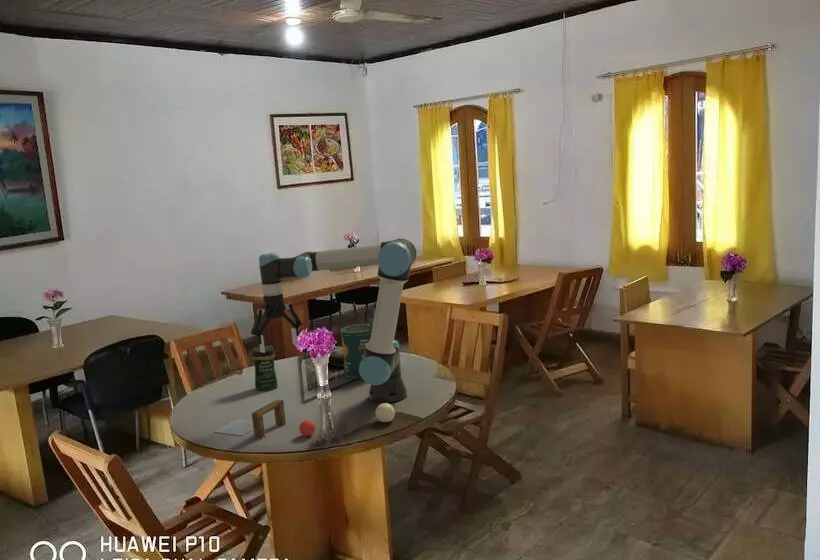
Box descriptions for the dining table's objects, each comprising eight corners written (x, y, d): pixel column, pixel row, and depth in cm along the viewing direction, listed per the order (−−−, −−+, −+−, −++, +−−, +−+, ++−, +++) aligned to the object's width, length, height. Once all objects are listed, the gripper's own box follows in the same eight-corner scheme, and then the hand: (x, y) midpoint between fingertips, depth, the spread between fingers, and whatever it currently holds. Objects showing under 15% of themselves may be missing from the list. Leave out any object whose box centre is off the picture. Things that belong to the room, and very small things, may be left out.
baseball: (384, 426, 246) (382, 408, 245) (373, 421, 252) (371, 404, 251) (399, 421, 250) (398, 403, 249) (388, 416, 256) (386, 399, 255)
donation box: (384, 376, 307) (378, 314, 302) (347, 381, 304) (341, 318, 299) (377, 366, 322) (372, 307, 318) (343, 371, 319) (337, 311, 315)
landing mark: (264, 422, 260) (264, 422, 259) (242, 435, 248) (242, 435, 248) (236, 419, 265) (236, 419, 265) (213, 432, 254) (213, 431, 254)
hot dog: (315, 365, 332) (313, 349, 331) (333, 359, 340) (331, 344, 339) (341, 371, 320) (339, 354, 319) (358, 365, 328) (357, 349, 327)
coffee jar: (255, 392, 297) (250, 350, 294) (255, 387, 305) (251, 345, 302) (278, 389, 299) (274, 347, 296) (278, 384, 307) (273, 343, 304)
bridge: (285, 424, 256) (283, 400, 255) (261, 439, 243) (258, 413, 242) (279, 423, 258) (276, 399, 256) (254, 438, 245) (251, 413, 243)
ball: (318, 433, 245) (317, 418, 244) (310, 439, 240) (308, 424, 239) (305, 431, 247) (304, 417, 246) (296, 437, 242) (295, 422, 241)
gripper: (298, 287, 276) (303, 340, 279) (238, 298, 262) (244, 353, 265) (306, 289, 270) (312, 342, 273) (245, 300, 256) (252, 356, 259)
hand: (279, 348), depth 269 cm, fingers open, 13 cm apart
